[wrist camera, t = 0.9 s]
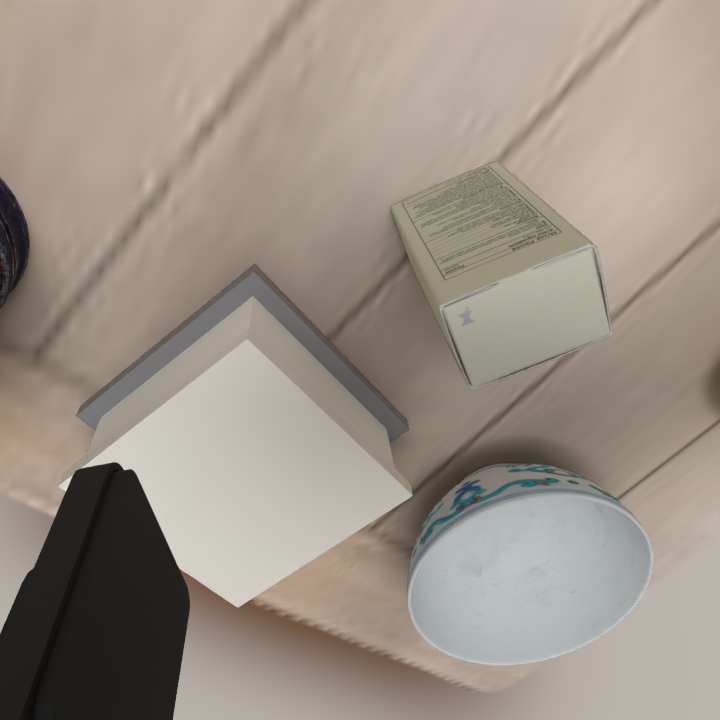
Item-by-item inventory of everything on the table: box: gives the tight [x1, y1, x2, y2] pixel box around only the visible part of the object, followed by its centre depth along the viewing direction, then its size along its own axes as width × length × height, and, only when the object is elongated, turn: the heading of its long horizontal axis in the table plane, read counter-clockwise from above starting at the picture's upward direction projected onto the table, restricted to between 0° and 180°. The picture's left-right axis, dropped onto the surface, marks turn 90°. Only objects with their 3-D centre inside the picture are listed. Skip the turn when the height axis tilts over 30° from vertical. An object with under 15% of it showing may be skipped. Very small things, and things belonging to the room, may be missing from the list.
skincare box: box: [391, 162, 612, 389], centre depth 30 cm, size 6×4×12 cm
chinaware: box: [407, 463, 654, 665], centre depth 43 cm, size 15×15×8 cm
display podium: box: [58, 264, 413, 607], centre depth 38 cm, size 14×14×7 cm
